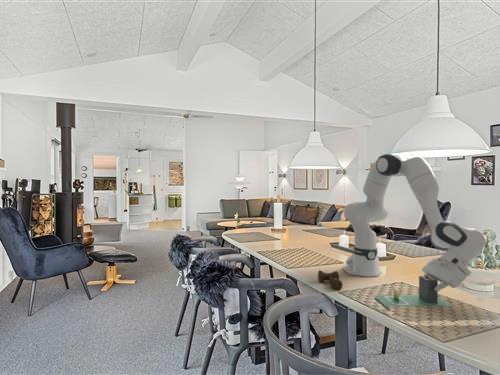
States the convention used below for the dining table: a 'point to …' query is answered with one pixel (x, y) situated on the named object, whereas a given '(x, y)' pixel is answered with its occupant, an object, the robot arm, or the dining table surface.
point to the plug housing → (428, 289)
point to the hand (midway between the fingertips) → (428, 286)
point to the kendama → (333, 278)
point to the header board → (407, 301)
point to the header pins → (396, 295)
